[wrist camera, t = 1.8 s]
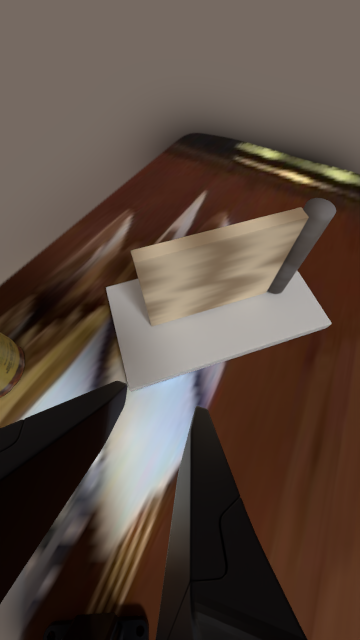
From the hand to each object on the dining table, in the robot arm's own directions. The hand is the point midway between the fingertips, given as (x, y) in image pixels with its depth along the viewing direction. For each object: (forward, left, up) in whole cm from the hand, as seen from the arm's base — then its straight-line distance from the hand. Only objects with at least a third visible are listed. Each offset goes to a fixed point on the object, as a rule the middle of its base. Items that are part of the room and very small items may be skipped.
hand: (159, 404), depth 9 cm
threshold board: (+11, -5, -14) cm, 18 cm away
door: (+12, -5, -12) cm, 18 cm away
